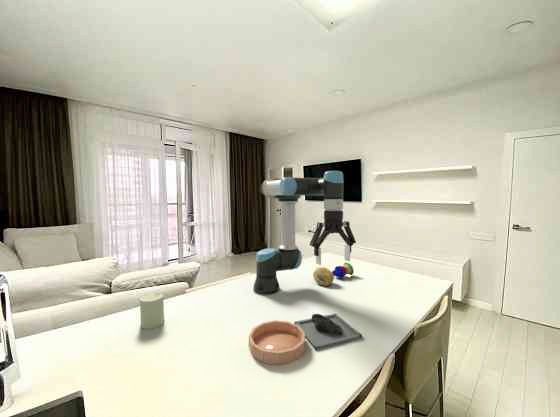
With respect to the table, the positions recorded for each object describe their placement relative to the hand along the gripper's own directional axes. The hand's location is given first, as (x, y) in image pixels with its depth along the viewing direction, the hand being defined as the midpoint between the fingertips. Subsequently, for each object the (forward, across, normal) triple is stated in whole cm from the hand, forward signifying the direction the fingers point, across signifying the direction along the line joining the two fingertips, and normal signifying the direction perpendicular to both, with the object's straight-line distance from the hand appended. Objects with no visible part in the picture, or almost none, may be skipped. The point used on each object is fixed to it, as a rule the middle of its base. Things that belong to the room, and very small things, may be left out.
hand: (333, 262), depth 99 cm
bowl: (+28, -25, -2) cm, 38 cm away
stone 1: (+28, +23, +46) cm, 59 cm away
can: (+28, -70, +32) cm, 82 cm away
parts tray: (+28, -3, 0) cm, 28 cm away
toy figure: (+28, +42, +52) cm, 73 cm away
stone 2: (+27, -3, 0) cm, 28 cm away
